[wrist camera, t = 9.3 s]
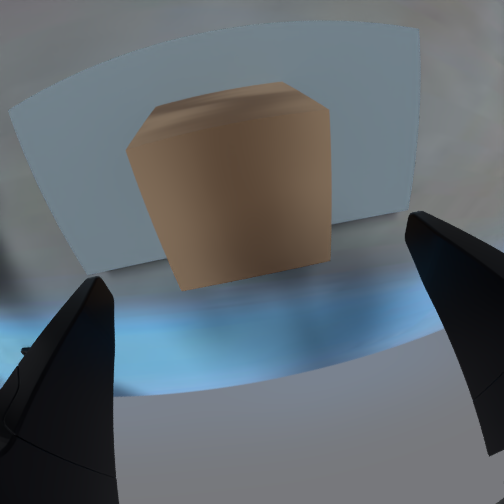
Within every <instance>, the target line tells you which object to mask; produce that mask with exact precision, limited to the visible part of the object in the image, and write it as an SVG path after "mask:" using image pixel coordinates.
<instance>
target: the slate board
mask: <svg viewBox="0 0 504 504" xmlns="http://www.w3.org/2000/svg"><path fill="white" fill-rule="evenodd" d="M274 82H284V83H286V84H287V85H289V86H291V87H293V88H295V89H296V90H298V91H300V92H301V93H303V94H305V95H306V96H308V97H310V98H311V99H313V100H315V101H316V102H318V103H319V104H321V105H323V106H324V107H326V108H327V109H329V113H330V135H331V171H332V220H331V225H332V224H337V223H342V222H347V221H352V220H357V219H363V218H368V217H373V216H378V215H383V214H389V213H394V212H399V211H405V210H408V208H409V202H410V195H411V189H412V182H413V175H414V167H415V158H416V149H417V138H418V126H419V109H420V38H419V29H417V28H411V27H404V26H397V25H389V24H380V23H369V22H354V21H292V22H276V23H265V24H255V25H247V26H240V27H233V28H227V29H221V30H215V31H210V32H205V33H200V34H195V35H190V36H186V37H182V38H178V39H174V40H170V41H166V42H162V43H159V44H155V45H152V46H149V47H145V48H142V49H139V50H136V51H133V52H130V53H127V54H124V55H121V56H118V57H116V58H113V59H110V60H108V61H105V62H103V63H100V64H98V65H95V66H93V67H90V68H88V69H86V70H83V71H81V72H79V73H77V74H74V75H72V76H70V77H68V78H66V79H64V80H62V81H60V82H58V83H56V84H54V85H52V86H50V87H48V88H46V89H44V90H42V91H40V92H38V93H37V94H35V95H33V96H31V97H29V98H28V99H26V100H24V101H23V102H21V103H19V104H18V105H16V106H14V107H13V108H11V109H9V110H8V112H9V115H10V117H11V120H12V123H13V126H14V129H15V131H16V134H17V137H18V139H19V142H20V145H21V147H22V150H23V152H24V154H25V157H26V159H27V162H28V164H29V166H30V169H31V171H32V173H33V175H34V178H35V180H36V182H37V184H38V186H39V188H40V190H41V192H42V195H43V197H44V199H45V201H46V203H47V205H48V207H49V209H50V211H51V212H52V214H53V216H54V218H55V220H56V222H57V224H58V226H59V227H60V229H61V231H62V233H63V235H64V236H65V238H66V240H67V242H68V243H69V245H70V247H71V249H72V250H73V252H74V254H75V255H76V257H77V259H78V260H79V262H80V264H81V265H82V267H83V268H84V270H85V272H86V273H87V275H91V274H95V273H100V272H104V271H109V270H113V269H118V268H123V267H127V266H132V265H137V264H141V263H146V262H151V261H155V260H160V259H165V258H167V257H166V255H165V252H164V250H163V248H162V245H161V243H160V240H159V238H158V236H157V233H156V231H155V228H154V226H153V223H152V221H151V218H150V216H149V213H148V211H147V208H146V205H145V203H144V200H143V198H142V195H141V192H140V190H139V187H138V184H137V182H136V179H135V176H134V173H133V170H132V168H131V165H130V162H129V159H128V156H127V153H126V149H127V147H128V146H129V144H130V143H131V141H132V140H133V138H134V137H135V135H136V134H137V132H138V131H139V129H140V128H141V126H142V125H143V123H144V122H145V121H146V119H147V118H148V116H149V115H150V114H151V112H152V111H153V110H154V108H155V107H156V106H160V105H163V104H167V103H171V102H175V101H179V100H183V99H187V98H191V97H195V96H200V95H204V94H209V93H214V92H219V91H224V90H229V89H234V88H240V87H246V86H253V85H259V84H266V83H274Z"/></svg>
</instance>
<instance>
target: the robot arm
mask: <svg viewBox="0 0 504 504" xmlns="http://www.w3.org/2000/svg"><path fill="white" fill-rule="evenodd" d="M405 241H406V244H407V247H408V249H409V251H410V253H411V256H412V258H413V260H414V263H415V265H416V268H417V270H418V272H419V275H420V277H421V280H422V282H423V284H424V286H425V289H426V291H427V293H428V295H429V297H430V299H431V301H432V303H433V305H434V307H435V309H436V311H437V313H438V315H439V317H440V320H441V322H442V324H443V326H444V328H445V331H446V333H447V335H448V337H449V340H450V342H451V344H452V347H453V349H454V352H455V354H456V356H457V359H458V361H459V364H460V367H461V369H462V372H463V374H464V377H465V380H466V382H467V385H468V388H469V391H470V394H471V397H472V399H473V403H474V406H475V409H476V413H477V416H478V419H479V422H480V426H481V430H482V433H483V437H484V441H485V444H486V449H487V452H488V455H489V456H491V455H494V454H496V453H498V452H500V451H502V450H504V253H503V252H501V251H499V250H498V249H496V248H494V247H492V246H491V245H489V244H487V243H485V242H483V241H481V240H480V239H478V238H476V237H474V236H472V235H470V234H468V233H466V232H464V231H463V230H461V229H459V228H457V227H455V226H453V225H451V224H449V223H447V222H445V221H443V220H441V219H438V218H436V217H434V216H432V215H430V214H428V213H426V212H424V211H417V212H412V213H410V215H409V217H408V222H407V227H406V232H405ZM21 353H22V354H23V355H24V357H23V358H22V360H21V361H20V362H19V364H18V366H17V367H16V368H15V369H14V371H13V372H12V374H11V375H10V377H9V378H8V380H7V381H6V382H5V384H4V385H3V387H2V388H1V389H0V504H119V499H118V490H117V480H116V470H115V455H114V434H113V383H114V359H115V329H114V298H113V296H112V294H111V292H110V291H109V289H108V287H107V286H106V284H105V283H104V281H103V280H102V278H101V277H99V276H95V277H91V278H87V279H86V280H85V281H84V282H83V283H82V284H81V286H80V287H79V288H78V289H77V290H76V291H75V292H74V294H73V295H72V296H71V297H70V298H69V300H68V301H67V302H66V303H65V304H64V305H63V307H62V308H61V309H60V310H59V312H58V313H57V314H56V315H55V316H54V318H53V319H52V320H51V321H50V323H49V324H48V325H47V326H46V328H45V329H44V330H43V332H42V333H41V334H40V335H39V337H38V338H37V339H36V341H35V342H34V343H33V345H32V346H31V347H30V348H22V350H21ZM496 504H504V498H503V499H502V500H500V501H499V502H498V503H496Z"/></svg>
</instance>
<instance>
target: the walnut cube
mask: <svg viewBox="0 0 504 504" xmlns="http://www.w3.org/2000/svg"><path fill="white" fill-rule="evenodd" d="M126 153H127V156H128V159H129V162H130V165H131V168H132V170H133V173H134V176H135V179H136V182H137V184H138V187H139V190H140V192H141V195H142V198H143V200H144V203H145V205H146V208H147V211H148V213H149V216H150V218H151V221H152V223H153V226H154V228H155V231H156V233H157V236H158V238H159V240H160V243H161V245H162V248H163V250H164V252H165V255H166V257H167V259H168V262H169V264H170V266H171V269H172V271H173V273H174V275H175V278H176V280H177V282H178V284H179V286H180V289H181V291H186V290H191V289H196V288H201V287H206V286H212V285H217V284H222V283H227V282H232V281H237V280H242V279H247V278H252V277H256V276H261V275H266V274H271V273H276V272H281V271H285V270H290V269H295V268H299V267H304V266H309V265H313V264H318V263H322V262H327V261H330V256H331V220H332V171H331V135H330V113H329V109H327V108H326V107H324V106H323V105H321V104H319V103H318V102H316V101H315V100H313V99H311V98H310V97H308V96H306V95H305V94H303V93H301V92H300V91H298V90H296V89H295V88H293V87H291V86H289V85H287V84H286V83H284V82H274V83H266V84H259V85H253V86H246V87H240V88H234V89H229V90H224V91H219V92H214V93H209V94H204V95H200V96H195V97H191V98H187V99H183V100H179V101H175V102H171V103H167V104H163V105H160V106H156V107H155V108H154V110H153V111H152V112H151V114H150V115H149V116H148V118H147V119H146V121H145V122H144V123H143V125H142V126H141V128H140V129H139V131H138V132H137V134H136V135H135V137H134V138H133V140H132V141H131V143H130V144H129V146H128V147H127V149H126Z"/></svg>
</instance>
